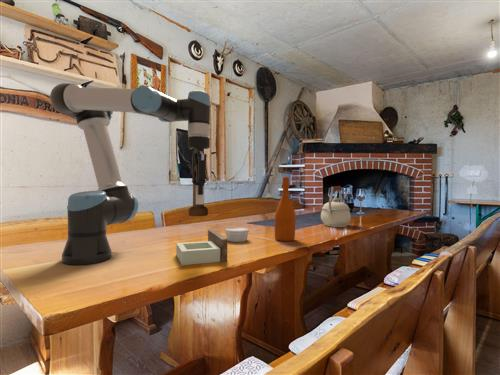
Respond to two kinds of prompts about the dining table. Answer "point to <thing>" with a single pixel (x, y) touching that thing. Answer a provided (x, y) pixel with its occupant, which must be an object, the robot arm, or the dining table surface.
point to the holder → (197, 252)
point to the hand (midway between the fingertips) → (198, 203)
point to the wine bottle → (285, 216)
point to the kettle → (335, 211)
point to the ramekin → (237, 234)
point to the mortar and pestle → (197, 208)
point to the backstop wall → (219, 243)
